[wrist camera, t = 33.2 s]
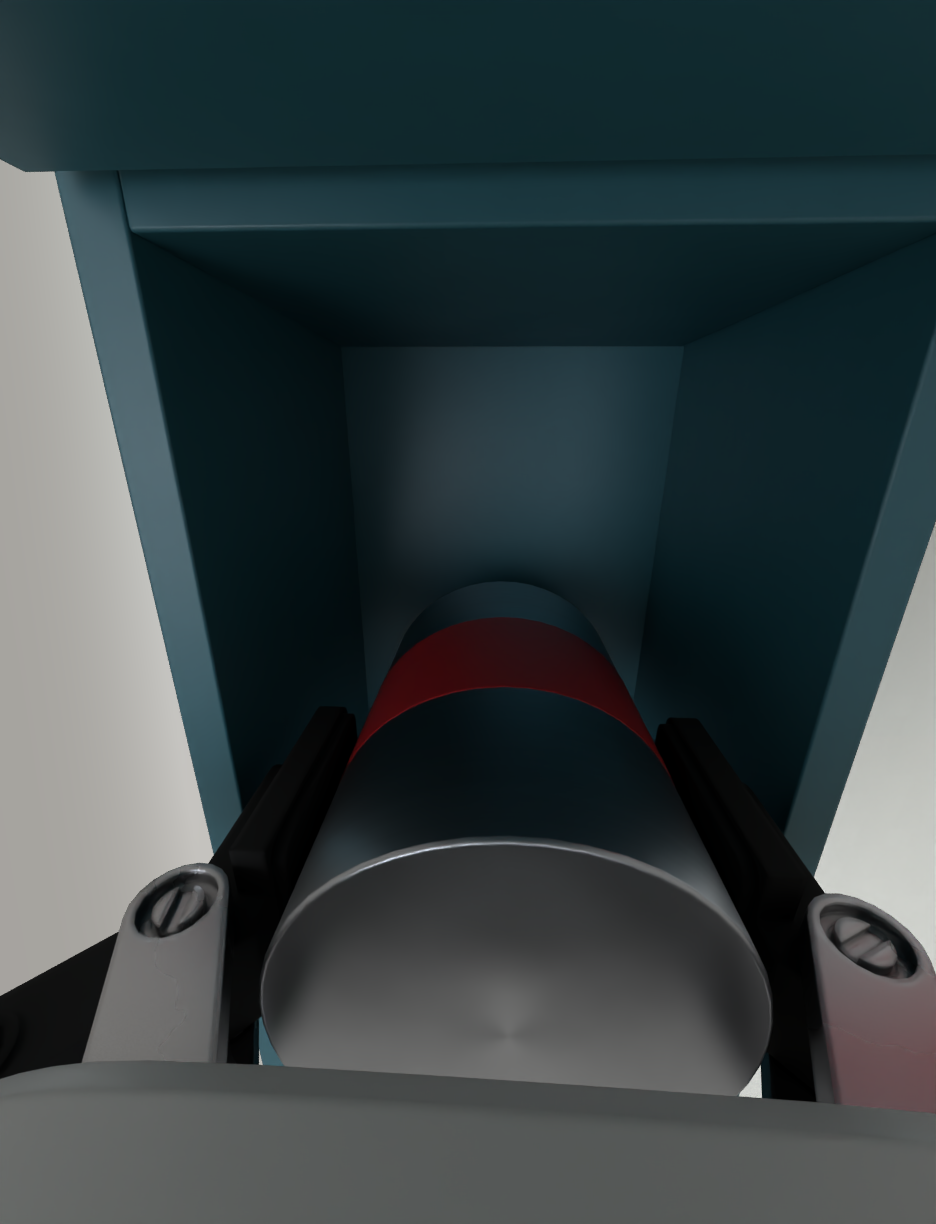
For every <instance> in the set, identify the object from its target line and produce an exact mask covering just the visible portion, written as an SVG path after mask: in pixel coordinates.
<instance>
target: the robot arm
mask: <svg viewBox="0 0 936 1224" xmlns="http://www.w3.org/2000/svg"><path fill="white" fill-rule="evenodd" d="M357 740H358V739H357V728H356V718H355V715H354V714H351V713H348V712H347V709H346V707H336V706H320V707H319V708H318V709H317V710H316V712H315V713H314V715H313V717H312V718H311V720H310V721H309V723H308V725H307V726H306V728H305V729H304V731H303V733H302V734H301V736H300V737H299V739H298V741H297V742H296V744H295V745H294V747H293V749H292V750H291V752H290V753H289V755H288V757H287V758H286V760H285V761H284V763H283V765H282V764H277V765H275V766H273V767H272V768H271V769H270V770H269V771H268V773H267V775H266V776H265V778H264V779H263V781H262V782H261V784H260V785H259V787H258V788H257V790H256V791H255V793H254V794H253V796H252V797H251V799H250V801H249V802H248V804H247V805H246V807H245V808H244V810H243V811H242V813H241V814H240V816H239V817H238V819H237V820H236V822H235V823H234V825H233V827H232V828H231V830H230V831H229V833H228V834H227V836H226V837H225V839H224V840H223V842H222V843H221V845H220V846H219V848H218V849H217V851H216V853H215V854H214V856H213V857H212V859H211V860H210V862H209V863H208V864H205V863H196V864H189V865H184V866H181V867H178V868H176V869H173V870H171V871H168V872H167V873H165V874H163V875H161V876H160V877H158V878H156V879H154V880H153V881H152V882H151V883H149V884H148V885H147V886H146V887H145V888H143V889H142V890H141V891H140V892H139V893H138V894H137V896H136V897H135V898H134V899H133V901H132V902H131V903H130V904H129V906H128V908H127V910H126V912H125V915H124V917H123V920H122V923H121V926H120V930H119V932H117V933H115V934H114V935H112V936H110V937H108V938H106V939H104V940H102V941H101V942H99V943H97V944H95V945H93V946H91V947H90V948H88V949H86V950H84V951H82V952H80V953H79V954H77V955H75V956H73V957H71V958H69V959H68V960H66V961H64V962H62V963H60V964H58V965H57V966H55V967H53V968H51V969H49V970H47V971H46V972H44V973H42V974H40V975H38V976H37V977H34V978H33V979H31V980H29V981H27V982H25V983H24V984H22V985H20V986H18V987H16V988H14V989H13V990H11V991H9V992H7V993H5V994H3V995H1V996H0V1224H936V974H935V971H934V968H933V966H932V963H931V961H930V959H929V957H928V955H927V953H926V951H925V950H924V948H923V946H922V945H921V944H920V942H919V941H918V940H917V939H916V938H915V937H914V936H913V934H912V933H911V932H910V931H909V930H908V929H907V928H905V927H904V926H903V925H902V924H901V923H899V922H898V921H897V920H896V919H895V918H893V917H892V916H890V915H889V914H887V913H886V912H884V911H882V910H881V909H879V908H877V907H876V906H874V905H872V904H870V903H867V902H865V901H863V900H860V899H858V898H855V897H851V896H847V895H843V894H825V893H824V891H823V890H822V888H821V887H820V886H819V884H818V883H817V881H816V880H815V879H814V877H813V876H812V874H811V873H810V871H809V870H808V869H807V867H806V866H805V864H804V863H803V862H802V860H801V859H800V857H799V856H798V854H797V853H796V852H795V850H794V849H793V847H792V846H791V845H790V843H789V842H788V840H787V839H786V837H785V836H784V835H783V833H782V832H781V830H780V829H779V828H778V826H777V825H776V823H775V822H774V820H773V819H772V818H771V816H770V815H769V813H768V812H767V811H766V809H765V808H764V806H763V805H762V803H761V802H760V801H759V799H758V798H757V796H756V795H755V794H754V792H753V791H752V790H751V788H750V787H749V786H748V785H747V784H745V783H743V782H742V781H741V780H740V779H739V777H738V776H737V774H736V773H735V771H734V770H733V768H732V767H731V766H730V764H729V763H728V761H727V760H726V758H725V757H724V755H723V754H722V753H721V751H720V750H719V748H718V747H717V745H716V744H715V742H714V741H713V740H712V738H711V737H710V735H709V734H708V732H707V731H706V729H705V728H704V727H703V725H702V724H701V722H700V721H699V720H698V719H696V718H674V717H670V718H668V719H667V721H666V724H659V726H658V728H657V733H656V739H655V745H656V747H657V749H658V751H659V753H660V755H661V757H662V759H663V761H664V763H665V765H666V767H667V769H668V772H669V774H670V776H671V778H672V780H673V782H674V784H675V788H676V790H677V792H678V794H679V796H680V798H681V800H682V802H683V804H684V806H685V808H686V810H687V812H688V814H689V816H690V818H691V820H692V822H693V824H694V826H695V828H696V830H697V832H698V834H699V836H700V838H701V840H702V842H703V844H704V846H705V848H706V850H707V852H708V854H709V856H710V858H711V860H712V862H713V864H714V866H715V868H716V870H717V872H718V874H719V876H720V878H721V880H722V882H723V884H724V886H725V888H726V890H727V892H728V894H729V896H730V898H731V900H732V902H733V904H734V906H735V908H736V910H737V912H738V914H739V916H740V918H741V920H742V922H743V924H744V926H745V928H746V930H747V932H748V934H749V936H750V938H751V940H752V942H753V944H754V946H755V948H756V950H757V952H758V954H759V956H760V958H761V961H762V963H763V965H764V967H765V969H766V971H767V975H768V979H769V983H770V987H771V992H772V997H773V1027H772V1032H771V1037H770V1042H769V1046H768V1048H767V1051H766V1053H765V1055H764V1058H763V1060H762V1063H761V1083H762V1098H752V1097H739V1096H725V1095H711V1094H698V1093H684V1092H670V1091H656V1090H643V1089H629V1088H614V1087H599V1086H585V1085H570V1084H555V1083H540V1082H526V1081H510V1080H495V1079H480V1078H465V1077H450V1076H435V1075H419V1074H403V1073H386V1072H370V1071H353V1070H337V1069H320V1068H304V1067H287V1066H271V1065H259V1018H260V1017H262V1015H261V1009H260V1004H259V1000H260V975H261V970H262V966H263V962H264V957H265V954H266V952H267V950H268V947H269V945H270V943H271V940H272V938H273V936H274V933H275V931H276V929H277V927H278V924H279V922H280V920H281V917H282V915H283V913H284V910H285V908H286V906H287V904H288V901H289V899H290V897H291V894H292V892H293V890H294V887H295V885H296V883H297V880H298V878H299V876H300V874H301V871H302V869H303V867H304V864H305V862H306V860H307V857H308V855H309V853H310V851H311V848H312V846H313V844H314V841H315V839H316V837H317V834H318V832H319V830H320V827H321V825H322V823H323V821H324V818H325V816H326V814H327V811H328V809H329V807H330V804H331V802H332V800H333V798H334V795H335V793H336V791H337V788H338V785H339V781H340V779H341V776H342V774H343V772H344V769H345V767H346V765H347V763H348V760H349V758H350V756H351V753H352V751H353V749H354V747H355V744H356V742H357Z"/></svg>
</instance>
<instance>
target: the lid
mask: <svg viewBox="0 0 936 1224" xmlns="http://www.w3.org/2000/svg"><path fill="white" fill-rule="evenodd" d="M923 154H936V0H0V159H1V160H3V161H5V162H7V163H9V164H10V165H12V166H14V167H16V168H19V169H20V170H22V171H25V172H45V171H98V170H150V169H201V168H253V167H304V166H356V165H408V164H459V163H511V162H562V161H614V160H665V159H717V158H769V157H820V156H872V155H923Z"/></svg>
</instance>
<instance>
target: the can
mask: <svg viewBox="0 0 936 1224" xmlns="http://www.w3.org/2000/svg"><path fill="white" fill-rule="evenodd" d="M259 1004H260V1009H261V1015H262V1020H263V1025H264V1027H265V1030H266V1033H267V1035H268V1038H269V1040H270V1043H271V1045H272V1047H273V1048H274V1050H275V1052H276V1053H277V1055H278V1057H279V1059H280V1060H281V1062H282V1063H283V1065H284V1066H287V1067H304V1068H320V1069H337V1070H353V1071H370V1072H386V1073H403V1074H419V1075H435V1076H450V1077H465V1078H480V1079H495V1080H510V1081H526V1082H540V1083H555V1084H570V1085H585V1086H599V1087H614V1088H629V1089H643V1090H656V1091H670V1092H684V1093H698V1094H711V1095H725V1096H737V1095H738V1094H739V1093H740V1092H741V1091H742V1090H743V1089H744V1088H745V1087H746V1086H747V1085H748V1083H749V1082H750V1080H751V1079H752V1077H753V1076H754V1074H755V1073H756V1071H757V1070H758V1068H759V1066H760V1065H761V1063H762V1060H763V1058H764V1055H765V1053H766V1051H767V1048H768V1046H769V1042H770V1037H771V1032H772V1027H773V997H772V992H771V987H770V983H769V979H768V975H767V971H766V969H765V967H764V965H763V963H762V961H761V958H760V956H759V954H758V952H757V950H756V948H755V946H754V944H753V942H752V940H751V938H750V936H749V934H748V932H747V930H746V928H745V926H744V924H743V922H742V920H741V918H740V916H739V914H738V912H737V910H736V908H735V906H734V904H733V902H732V900H731V898H730V896H729V894H728V892H727V890H726V888H725V886H724V884H723V882H722V880H721V878H720V876H719V874H718V872H717V870H716V868H715V866H714V864H713V862H712V860H711V858H710V856H709V854H708V852H707V850H706V848H705V846H704V844H703V842H702V840H701V838H700V836H699V834H698V832H697V830H696V828H695V826H694V824H693V822H692V820H691V818H690V816H689V814H688V812H687V810H686V808H685V806H684V804H683V802H682V800H681V798H680V796H679V794H678V792H677V790H676V788H675V784H674V782H673V780H672V778H671V776H670V774H669V772H668V769H667V767H666V765H665V763H664V761H663V759H662V757H661V755H660V753H659V751H658V749H657V747H656V745H655V743H654V741H653V739H652V737H651V735H650V734H649V732H648V730H647V728H646V726H645V724H644V722H643V720H642V718H641V716H640V714H639V712H638V710H637V708H636V706H635V704H634V702H633V700H632V698H631V696H630V694H629V692H628V690H627V688H626V686H625V684H624V682H623V680H622V679H621V677H620V676H619V674H618V672H617V670H616V668H615V666H614V664H613V662H612V660H611V658H610V656H609V654H608V652H607V650H606V648H605V646H604V644H603V642H602V640H601V638H600V636H599V634H598V633H597V631H596V630H595V628H594V627H593V625H592V624H591V622H590V621H589V620H588V619H587V618H586V617H585V616H584V615H583V613H582V612H580V611H579V610H578V609H577V608H576V607H574V606H573V605H572V604H571V603H569V602H568V601H566V600H565V599H563V598H561V597H560V596H558V595H556V594H554V593H552V592H550V591H547V590H545V589H542V588H539V587H536V586H533V585H529V584H523V583H517V582H503V581H498V582H485V583H480V584H475V585H470V586H467V587H464V588H461V589H458V590H455V591H453V592H451V593H449V594H447V595H445V596H443V597H441V598H440V599H438V600H437V601H435V602H434V603H432V604H431V605H430V606H428V607H427V608H426V609H425V610H424V611H423V612H422V613H421V614H420V615H419V616H418V617H417V618H416V619H415V620H414V622H413V623H412V624H411V625H410V627H409V628H408V630H407V632H406V633H405V635H404V637H403V639H402V641H401V643H400V646H399V648H398V650H397V652H396V655H395V657H394V659H393V662H392V664H391V666H390V669H389V671H388V673H387V675H386V678H385V679H384V681H383V683H382V685H381V687H380V690H379V692H378V694H377V696H376V699H375V701H374V703H373V705H372V708H371V710H370V712H369V715H368V717H367V719H366V721H365V724H364V726H363V728H362V731H361V733H360V735H359V737H358V740H357V742H356V744H355V747H354V749H353V751H352V753H351V756H350V758H349V760H348V763H347V765H346V767H345V769H344V772H343V774H342V776H341V779H340V781H339V785H338V788H337V791H336V793H335V795H334V798H333V800H332V802H331V804H330V807H329V809H328V811H327V814H326V816H325V818H324V821H323V823H322V825H321V827H320V830H319V832H318V834H317V837H316V839H315V841H314V844H313V846H312V848H311V851H310V853H309V855H308V857H307V860H306V862H305V864H304V867H303V869H302V871H301V874H300V876H299V878H298V880H297V883H296V885H295V887H294V890H293V892H292V894H291V897H290V899H289V901H288V904H287V906H286V908H285V910H284V913H283V915H282V917H281V920H280V922H279V924H278V927H277V929H276V931H275V933H274V936H273V938H272V940H271V943H270V945H269V947H268V950H267V952H266V954H265V957H264V962H263V966H262V970H261V975H260V1000H259Z"/></svg>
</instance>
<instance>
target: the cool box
mask: <svg viewBox="0 0 936 1224" xmlns="http://www.w3.org/2000/svg"><path fill="white" fill-rule="evenodd" d="M54 172H55V176H56V180H57V184H58V189H59V193H60V197H61V202H62V206H63V210H64V214H65V219H66V223H67V227H68V232H69V236H70V240H71V244H72V249H73V253H74V257H75V262H76V266H77V270H78V274H79V278H80V283H81V287H82V292H83V295H84V300H85V304H86V309H87V313H88V317H89V321H90V326H91V330H92V334H93V338H94V343H95V347H96V351H97V356H98V360H99V364H100V369H101V373H102V377H103V382H104V386H105V390H106V394H107V399H108V403H109V407H110V411H111V415H112V420H113V424H114V428H115V433H116V437H117V442H118V446H119V450H120V454H121V459H122V463H123V467H124V471H125V476H126V480H127V484H128V489H129V492H130V497H131V501H132V506H133V510H134V514H135V519H136V523H137V527H138V531H139V535H140V540H141V544H142V548H143V553H144V557H145V562H146V566H147V570H148V574H149V579H150V583H151V587H152V592H153V596H154V600H155V605H156V609H157V613H158V617H159V622H160V626H161V630H162V634H163V639H164V643H165V647H166V652H167V656H168V660H169V665H170V669H171V673H172V677H173V682H174V686H175V690H176V694H177V699H178V703H179V707H180V712H181V716H182V720H183V724H184V729H185V733H186V737H187V742H188V746H189V750H190V754H191V759H192V763H193V767H194V772H195V776H196V780H197V785H198V789H199V793H200V797H201V802H202V806H203V810H204V814H205V818H206V823H207V827H208V832H209V835H210V840H211V845H212V849H213V853H214V854H215V853H216V851H217V849H218V848H219V846H220V845H221V843H222V842H223V840H224V839H225V837H226V836H227V834H228V833H229V831H230V830H231V828H232V827H233V825H234V823H235V822H236V820H237V819H238V817H239V816H240V814H241V813H242V811H243V810H244V808H245V807H246V805H247V804H248V802H249V801H250V799H251V797H252V796H253V794H254V793H255V791H256V790H257V788H258V787H259V785H260V784H261V782H262V781H263V779H264V778H265V776H266V775H267V773H268V771H269V770H270V769H271V768H272V767H273V766H275V765H277V764H282V765H283V763H284V761H285V760H286V758H287V757H288V755H289V753H290V752H291V750H292V749H293V747H294V745H295V744H296V742H297V741H298V739H299V737H300V736H301V734H302V733H303V731H304V729H305V728H306V726H307V725H308V723H309V721H310V720H311V718H312V717H313V715H314V713H315V712H316V710H317V709H318V708H319V707H320V706H336V707H346V709H347V712H348V713H351V714H354V715H355V718H356V728H357V739H358V737H359V735H360V733H361V731H362V728H363V726H364V724H365V721H366V719H367V717H368V715H369V712H370V710H371V708H372V705H373V703H374V701H375V699H376V696H377V694H378V692H379V690H380V687H381V685H382V683H383V681H384V679H385V678H386V675H387V673H388V671H389V669H390V666H391V664H392V662H393V659H394V657H395V655H396V652H397V650H398V648H399V646H400V643H401V641H402V639H403V637H404V635H405V633H406V632H407V630H408V628H409V627H410V625H411V624H412V623H413V622H414V620H415V619H416V618H417V617H418V616H419V615H420V614H421V613H422V612H423V611H424V610H425V609H426V608H427V607H428V606H430V605H431V604H432V603H434V602H435V601H437V600H438V599H440V598H441V597H443V596H445V595H447V594H449V593H451V592H453V591H455V590H458V589H461V588H464V587H467V586H470V585H475V584H480V583H485V582H498V581H503V582H517V583H523V584H529V585H533V586H536V587H539V588H542V589H545V590H547V591H550V592H552V593H554V594H556V595H558V596H560V597H561V598H563V599H565V600H566V601H568V602H569V603H571V604H572V605H573V606H574V607H576V608H577V609H578V610H579V611H580V612H582V613H583V615H584V616H585V617H586V618H587V619H588V620H589V621H590V622H591V624H592V625H593V627H594V628H595V630H596V631H597V633H598V634H599V636H600V638H601V640H602V642H603V644H604V646H605V648H606V650H607V652H608V654H609V656H610V658H611V660H612V662H613V664H614V666H615V668H616V670H617V672H618V674H619V676H620V677H621V679H622V680H623V682H624V684H625V686H626V688H627V690H628V692H629V694H630V696H631V698H632V700H633V702H634V704H635V706H636V708H637V710H638V712H639V714H640V716H641V718H642V720H643V722H644V724H645V726H646V728H647V730H648V732H649V734H650V735H651V737H652V739H653V741H654V743H655V739H656V733H657V728H658V726H659V724H666V721H667V719H668V718H670V717H674V718H696V719H698V720H699V721H700V722H701V724H702V725H703V727H704V728H705V729H706V731H707V732H708V734H709V735H710V737H711V738H712V740H713V741H714V742H715V744H716V745H717V747H718V748H719V750H720V751H721V753H722V754H723V755H724V757H725V758H726V760H727V761H728V763H729V764H730V766H731V767H732V768H733V770H734V771H735V773H736V774H737V776H738V777H739V779H740V780H741V781H742V782H743V783H745V784H747V785H748V786H749V787H750V788H751V790H752V791H753V792H754V794H755V795H756V796H757V798H758V799H759V801H760V802H761V803H762V805H763V806H764V808H765V809H766V811H767V812H768V813H769V815H770V816H771V818H772V819H773V820H774V822H775V823H776V825H777V826H778V828H779V829H780V830H781V832H782V833H783V835H784V836H785V837H786V839H787V840H788V842H789V843H790V845H791V846H792V847H793V849H794V850H795V852H796V853H797V854H798V856H799V857H800V859H801V860H802V862H803V863H804V864H805V866H806V867H807V869H808V870H809V871H810V873H811V874H812V876H813V877H814V875H815V872H816V869H817V866H818V863H819V860H820V857H821V854H822V851H823V849H824V846H825V843H826V840H827V837H828V834H829V831H830V828H831V825H832V822H833V819H834V816H835V814H836V811H837V808H838V805H839V802H840V799H841V796H842V793H843V790H844V787H845V784H846V781H847V779H848V776H849V773H850V770H851V767H852V764H853V761H854V758H855V755H856V752H857V749H858V746H859V744H860V741H861V738H862V735H863V732H864V729H865V726H866V723H867V720H868V717H869V714H870V711H871V709H872V706H873V703H874V700H875V697H876V694H877V691H878V688H879V685H880V682H881V679H882V676H883V674H884V671H885V668H886V665H887V662H888V659H889V656H890V653H891V650H892V647H893V644H894V641H895V639H896V636H897V633H898V630H899V627H900V624H901V621H902V618H903V615H904V612H905V609H906V606H907V603H908V601H909V598H910V595H911V592H912V589H913V586H914V583H915V580H916V577H917V574H918V571H919V568H920V566H921V563H922V560H923V557H924V554H925V551H926V548H927V545H928V542H929V539H930V536H931V533H932V531H933V528H934V525H935V522H936V154H923V155H872V156H820V157H769V158H717V159H665V160H614V161H562V162H511V163H459V164H408V165H356V166H304V167H253V168H201V169H150V170H98V171H54ZM259 1050H260V1055H261V1059H262V1063H263V1065H271V1066H284V1065H283V1063H282V1062H281V1060H280V1059H279V1057H278V1055H277V1053H276V1052H275V1050H274V1048H273V1047H272V1045H271V1043H270V1040H269V1038H268V1035H267V1033H266V1030H265V1027H264V1025H263V1020H262V1017H260V1018H259ZM739 1094H740V1093H739ZM739 1094H738V1095H737V1096H739Z"/></svg>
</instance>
